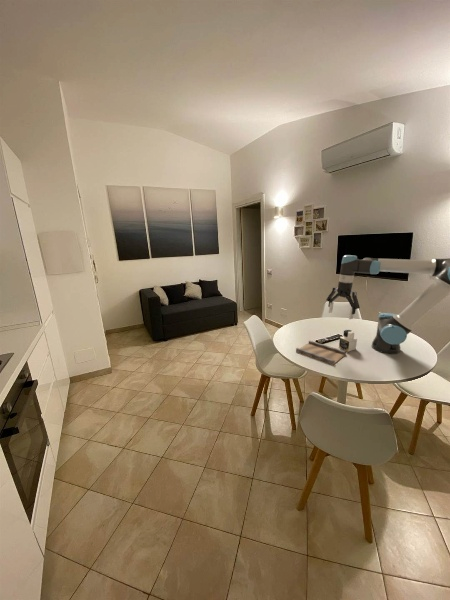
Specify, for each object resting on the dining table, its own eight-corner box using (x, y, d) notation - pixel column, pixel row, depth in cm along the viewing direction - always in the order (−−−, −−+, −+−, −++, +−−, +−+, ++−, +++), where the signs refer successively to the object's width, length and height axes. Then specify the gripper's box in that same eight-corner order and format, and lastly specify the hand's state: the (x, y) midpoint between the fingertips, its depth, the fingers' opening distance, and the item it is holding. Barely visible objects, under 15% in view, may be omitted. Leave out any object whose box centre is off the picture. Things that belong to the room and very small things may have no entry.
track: (345, 354, 147) (346, 351, 147) (333, 364, 137) (333, 361, 136) (309, 343, 165) (309, 340, 164) (296, 351, 154) (296, 348, 154)
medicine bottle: (338, 347, 158) (340, 330, 155) (346, 345, 160) (348, 328, 157) (348, 351, 151) (349, 333, 148) (356, 349, 154) (358, 331, 151)
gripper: (323, 278, 151) (319, 310, 157) (363, 286, 131) (356, 323, 137) (330, 277, 155) (326, 309, 161) (370, 285, 135) (363, 320, 141)
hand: (340, 315), depth 149 cm, fingers open, 13 cm apart
